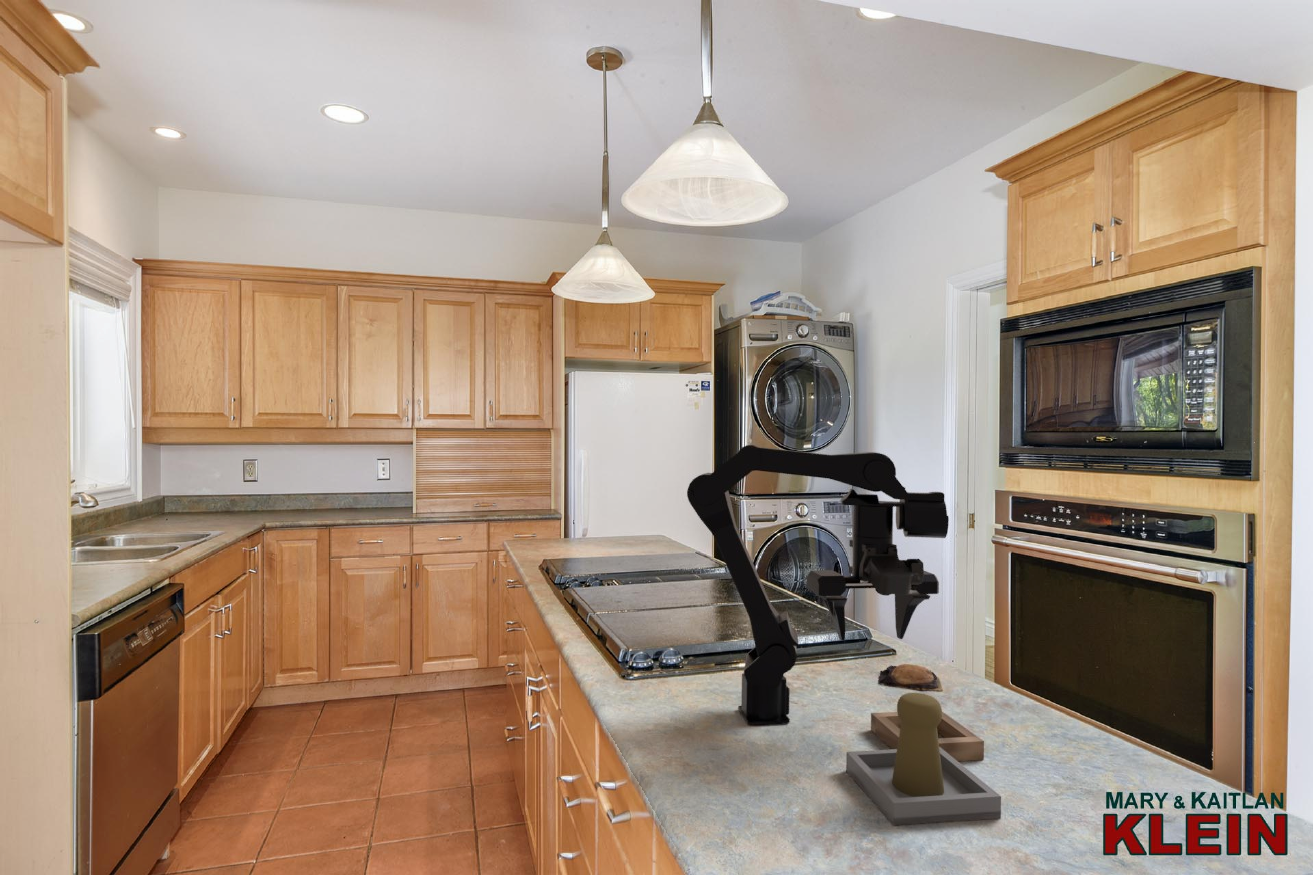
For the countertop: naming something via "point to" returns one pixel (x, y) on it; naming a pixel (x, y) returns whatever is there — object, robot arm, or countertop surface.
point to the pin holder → (954, 742)
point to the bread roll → (910, 678)
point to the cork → (918, 747)
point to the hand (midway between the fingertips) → (871, 639)
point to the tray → (957, 803)
